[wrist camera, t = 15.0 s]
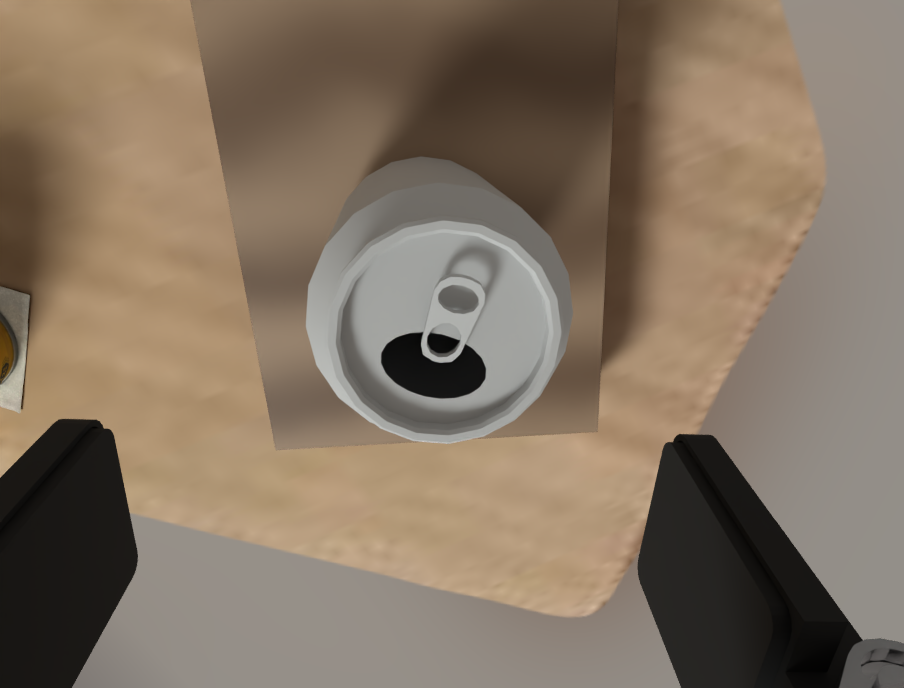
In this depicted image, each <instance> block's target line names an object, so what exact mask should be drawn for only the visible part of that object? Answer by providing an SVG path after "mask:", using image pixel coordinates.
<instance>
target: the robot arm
mask: <svg viewBox="0 0 904 688" xmlns="http://www.w3.org/2000/svg"><path fill="white" fill-rule="evenodd" d="M137 559H138V554H137V548H136V543H135V538H134V533H133V528H132V523H131V519H130V513H129V508H128V503H127V498H126V493H125V488H124V483H123V478H122V473H121V468H120V463H119V458H118V453H117V449H116V444H115V439H114V435H113V433H112V431H111V430H110V429H104V428H103V425H102V424H101V423H100V421H98V420H84V419H60V420H58V421H56V422H55V423H54V424H53V425H52V426H51V427H50V428H49V429H48V430H47V431H46V432H45V433H44V434H43V435H42V436H41V437H40V438H39V439H38V440H37V441H36V442H35V443H34V444H33V445H32V446H31V447H30V448H29V449H28V450H27V451H26V452H25V453H24V454H23V455H22V456H21V457H20V458H19V459H18V460H17V461H16V462H15V463H14V464H13V465H12V466H11V467H10V468H9V469H8V470H7V471H6V473H5V474H4V475H3V476H2V477H1V478H0V688H72V686H73V684H74V683H75V681H76V679H77V677H78V675H79V674H80V672H81V670H82V668H83V666H84V665H85V663H86V661H87V659H88V657H89V656H90V654H91V652H92V650H93V648H94V646H95V645H96V643H97V641H98V639H99V637H100V635H101V634H102V632H103V630H104V628H105V627H106V625H107V623H108V621H109V619H110V618H111V616H112V614H113V612H114V610H115V609H116V607H117V605H118V603H119V601H120V599H121V598H122V596H123V594H124V592H125V590H126V588H127V586H128V585H129V583H130V581H131V580H132V578H133V575H134V573H135V571H136V567H137V561H138V560H137ZM638 575H639V580H640V584H641V586H642V589H643V591H644V594H645V596H646V599H647V601H648V604H649V607H650V609H651V611H652V614H653V617H654V619H655V622H656V624H657V627H658V629H659V632H660V634H661V637H662V640H663V642H664V645H665V647H666V650H667V652H668V655H669V657H670V660H671V663H672V665H673V668H674V670H675V673H676V675H677V678H678V681H679V683H680V686H681V688H904V644H903V643H901V642H897V641H892V640H886V639H866V640H862V639H861V637H860V636H859V635H858V633H857V632H856V630H855V629H854V628H853V626H852V625H851V624H850V622H849V621H848V619H847V618H846V617H845V615H844V614H843V613H842V611H841V610H840V608H839V607H838V606H837V604H836V603H835V601H834V600H833V599H832V597H831V596H830V595H829V593H828V592H827V590H826V589H825V588H824V586H823V585H822V584H821V582H820V581H819V579H818V578H817V577H816V575H815V574H814V573H813V571H812V570H811V569H810V567H809V566H808V565H807V563H806V562H805V561H804V559H803V558H802V556H801V555H800V553H799V552H798V551H797V549H796V548H795V547H794V545H793V544H792V543H791V541H790V540H789V538H788V537H787V535H786V534H785V533H784V531H783V530H782V529H781V527H780V526H779V525H778V523H777V522H776V520H775V519H774V518H773V517H772V515H771V514H770V512H769V511H768V510H767V508H766V507H765V506H764V504H763V503H762V501H761V500H760V499H759V497H758V496H757V494H756V493H755V492H754V490H753V489H752V488H751V486H750V485H749V483H748V482H747V481H746V479H745V478H744V477H743V475H742V474H741V473H740V471H739V470H738V468H737V467H736V466H735V464H734V463H733V461H732V460H731V459H730V457H729V456H728V455H727V453H726V452H725V450H724V449H723V448H722V446H721V445H720V444H719V442H718V441H717V439H716V438H714V436H712V435H693V434H679V435H677V436H676V437H675V439H674V441H673V442H667V443H666V444H665V445H664V448H663V451H662V456H661V460H660V465H659V469H658V474H657V478H656V482H655V487H654V491H653V496H652V500H651V505H650V509H649V514H648V518H647V523H646V527H645V532H644V536H643V540H642V545H641V549H640V554H639V559H638Z"/></svg>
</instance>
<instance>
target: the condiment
mask: <svg viewBox="0 0 904 688" xmlns="http://www.w3.org/2000/svg"><path fill="white" fill-rule="evenodd" d="M29 300H30V295H28V294H24V293H21V292H17V291H14V290H11V289H8V288H4V287H1V286H0V407H3V408H7V409H10V410H13V411H16V412H18V413H20V410H21V400H22V392H23V383H24V371H25V363H26V348H27V335H28V323H27V321H28V311H29Z"/></svg>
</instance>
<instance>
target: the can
mask: <svg viewBox="0 0 904 688" xmlns="http://www.w3.org/2000/svg"><path fill="white" fill-rule="evenodd" d="M572 317H573V308H572V299H571V291H570V282H569V274H568V272H567V270H566V268H565V266H564V264H563V261H562V259H561V257H560V255H559V253H558V251H557V249H556V247H555V245H554V243H553V241H552V239H551V237H550V236H549V235H548V234H547V233H546V232H545V231H544V230H543V229H542V228H541V227H540V226H539V225H538V224H537V223H536V222H535V221H534V220H533V219H532V218H531V217H530V216H529V215H528V214H527V213H526V212H525V211H524V210H523V209H522V208H521V207H520V206H519V205H517V204H516V203H515V202H513V201H512V200H511V199H509V198H508V197H507V196H506V195H504V194H503V193H502V192H500V191H499V190H498V189H496V188H495V187H494V186H492V185H491V184H490V183H488V182H487V181H486V180H485V179H483V178H482V177H481V176H479V175H478V174H477V173H475V172H473V171H471V170H469V169H467V168H465V167H463V166H461V165H459V164H457V163H455V162H453V161H451V160H444V159H437V158H429V157H422V156H420V157H415V158H410V159H405V160H400V161H395V162H391V163H389V164H388V165H386V166H384V167H382V168H381V169H379V170H377V171H375V172H374V173H372V174H370V175H368V176H367V177H365V179H364V180H363V181H362V182H361V183H360V184H359V185H358V186H357V188H356V189H355V190H354V191H353V192H352V193H351V194H350V195H349V197H348V198H347V199H346V201H345V203H344V206H343V208H342V210H341V212H340V214H339V216H338V219H337V221H336V223H335V225H334V227H333V229H332V232H331V234H330V236H329V238H328V240H327V243H326V245H325V247H324V249H323V252H322V254H321V256H320V259H319V261H318V264H317V266H316V268H315V271H314V273H313V276H312V278H311V280H310V283H309V285H308V298H307V314H306V329H307V333H308V337H309V340H310V344H311V347H312V351H313V355H314V358H315V362H316V365H317V367H318V368H319V370H320V371H321V373H322V374H323V376H324V377H325V379H326V380H327V382H328V383H329V384H330V386H331V387H332V389H333V390H334V392H335V393H336V395H337V396H338V398H339V399H341V400H342V401H343V402H345V403H346V404H347V405H348V406H350V407H351V408H352V409H354V410H355V411H356V412H357V413H359V414H360V415H361V416H363V417H364V418H365V419H366V420H368V421H369V422H371V423H374V424H375V425H376V426H378V427H379V428H380V429H383V430H385V431H388V432H391V433H393V434H396V435H399V436H401V437H404V438H407V439H409V440H412V441H419V442H432V443H445V444H450V443H455V442H460V441H465V440H469V439H474V438H479V437H484V436H486V435H487V434H489V433H491V432H493V431H495V430H497V429H499V428H501V427H503V426H505V425H507V424H509V423H510V422H512V421H514V420H516V419H517V418H518V417H519V416H520V415H521V414H522V413H523V412H524V411H525V410H526V409H527V408H528V407H529V406H530V405H531V404H532V403H533V402H534V401H535V400H536V399H538V398H539V397H540V395H541V394H542V392H543V390H544V388H545V387H546V385H547V383H548V382H549V380H550V378H551V376H552V375H553V373H554V371H555V369H556V367H557V366H558V364H559V362H560V360H561V359H562V357H563V355H564V353H565V351H566V346H567V341H568V336H569V331H570V326H571V322H572Z"/></svg>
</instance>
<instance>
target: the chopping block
mask: <svg viewBox="0 0 904 688" xmlns="http://www.w3.org/2000/svg"><path fill="white" fill-rule="evenodd" d="M190 2H191V7H192V12H193V18H194V23H195V28H196V33H197V39H198V44H199V49H200V54H201V60H202V65H203V70H204V75H205V81H206V86H207V91H208V96H209V102H210V107H211V112H212V117H213V123H214V128H215V133H216V139H217V144H218V149H219V154H220V160H221V165H222V170H223V175H224V181H225V186H226V191H227V196H228V202H229V207H230V212H231V217H232V223H233V228H234V233H235V238H236V244H237V249H238V254H239V259H240V265H241V270H242V275H243V280H244V286H245V291H246V296H247V302H248V307H249V312H250V317H251V323H252V328H253V333H254V338H255V344H256V349H257V354H258V359H259V365H260V370H261V375H262V380H263V386H264V391H265V396H266V401H267V407H268V412H269V417H270V422H271V428H272V433H273V438H274V443H275V449H276V450H287V449H305V448H323V447H340V446H358V445H376V444H394V443H411V442H419V441H412V440H409V439H407V438H404V437H401V436H399V435H396V434H393V433H391V432H388V431H385V430H383V429H380V428H379V427H378V426H376V425H375V424H374V423H371V422H369V421H368V420H366V419H365V418H364V417H363V416H361V415H360V414H359V413H357V412H356V411H355V410H354V409H352V408H351V407H350V406H348V405H347V404H346V403H345V402H343V401H342V400H341V399H339V398H338V396H337V395H336V393H335V392H334V390H333V389H332V387H331V386H330V384H329V383H328V382H327V380H326V379H325V377H324V376H323V374H322V373H321V371H320V370H319V368H318V367H317V365H316V362H315V358H314V355H313V351H312V347H311V344H310V340H309V337H308V333H307V329H306V314H307V298H308V285H309V283H310V280H311V278H312V276H313V273H314V271H315V268H316V266H317V264H318V261H319V259H320V256H321V254H322V252H323V249H324V247H325V245H326V243H327V240H328V238H329V236H330V234H331V232H332V229H333V227H334V225H335V223H336V221H337V219H338V216H339V214H340V212H341V210H342V208H343V206H344V203H345V201H346V199H347V198H348V197H349V195H350V194H351V193H352V192H353V191H354V190H355V189H356V188H357V186H358V185H359V184H360V183H361V182H362V181H363V180H364V179H365V177H367V176H368V175H370V174H372V173H374V172H375V171H377V170H379V169H381V168H382V167H384V166H386V165H388V164H389V163H391V162H395V161H400V160H405V159H410V158H415V157H420V156H422V157H429V158H437V159H444V160H451V161H453V162H455V163H457V164H459V165H461V166H463V167H465V168H467V169H469V170H471V171H473V172H475V173H477V174H478V175H479V176H481V177H482V178H483V179H485V180H486V181H487V182H488V183H490V184H491V185H492V186H494V187H495V188H496V189H498V190H499V191H500V192H502V193H503V194H504V195H506V196H507V197H508V198H509V199H511V200H512V201H513V202H515V203H516V204H517V205H519V206H520V207H521V208H522V209H523V210H524V211H525V212H526V213H527V214H528V215H529V216H530V217H531V218H532V219H533V220H534V221H535V222H536V223H537V224H538V225H539V226H540V227H541V228H542V229H543V230H544V231H545V232H546V233H547V234H548V235H549V236H550V237H551V239H552V241H553V243H554V245H555V247H556V249H557V251H558V253H559V255H560V257H561V259H562V261H563V264H564V266H565V268H566V270H567V272H568V274H569V282H570V291H571V299H572V308H573V317H572V322H571V326H570V331H569V336H568V341H567V346H566V351H565V353H564V355H563V357H562V359H561V360H560V362H559V364H558V366H557V367H556V369H555V371H554V373H553V375H552V376H551V378H550V380H549V382H548V383H547V385H546V387H545V388H544V390H543V392H542V394H541V395H540V397H539V398H538V399H536V400H535V401H534V402H533V403H532V404H531V405H530V406H529V407H528V408H527V409H526V410H525V411H524V412H523V413H522V414H521V415H520V416H519V417H518V418H517V419H516V420H514V421H512V422H510V423H509V424H507V425H505V426H503V427H501V428H499V429H497V430H495V431H493V432H491V433H489V434H487V435H486V436H484V437H479V438H474V439H482V438H500V437H518V436H536V435H554V434H571V433H589V432H598V414H599V393H600V373H601V352H602V332H603V311H604V291H605V270H606V249H607V229H608V208H609V188H610V167H611V147H612V126H613V106H614V85H615V64H616V44H617V23H618V3H619V0H190Z"/></svg>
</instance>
